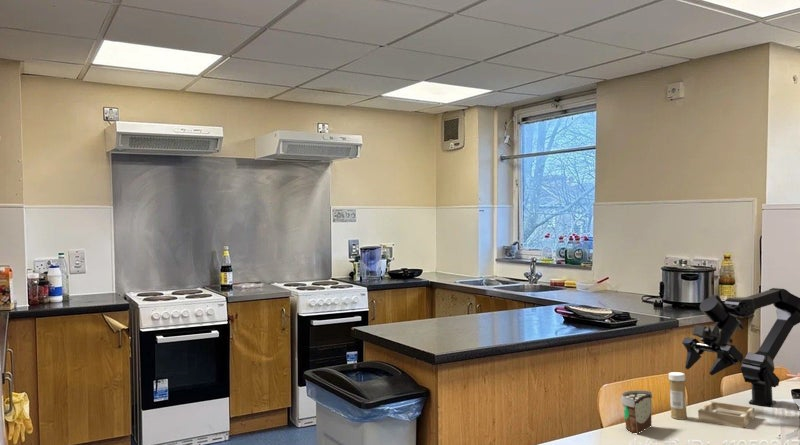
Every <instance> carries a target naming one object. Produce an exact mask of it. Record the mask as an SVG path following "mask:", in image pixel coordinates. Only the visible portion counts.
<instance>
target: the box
mask: <svg viewBox="0 0 800 445" xmlns="http://www.w3.org/2000/svg"><path fill="white" fill-rule="evenodd" d="M697 411H698V415H697V416H698V421H699V422H704V423H705V422H706V423H709V424H711V423H712V424H718V425H723V426H728V427H734V428H740V429H744V428H746V427H747V426H748V425H749V424H750V423H751V422H752V421H754V419H755V407H751V406H745V405H737V404H731V403H723V402H717V401H709V402H708V403H707V404H706V405H703V406H702V407H701V408H699V409H698V410H697Z"/></svg>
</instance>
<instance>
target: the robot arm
mask: <svg viewBox="0 0 800 445" xmlns="http://www.w3.org/2000/svg"><path fill="white" fill-rule="evenodd" d="M771 305H773V306H774V307H775V308H776V320H775V322H774V323H773V325H772V326H771V328H770V330H769V331H768V333H767V335H766V337H765V339H764V340H763V342H762V343H761V344H760V347H759V348H758V351H756V352H754V353H753V352H748V353H746V355H745V357H744V355H743V353H742V352H741V351H740V350H739V349H738V348H737V346H735V345H733V344H732V343H733V341H734V340H733V339H732V337H733V335H734V334H735V332H736V331H737V330H744V325H743V321H742V320H739V319H738V318H743V319H744V318H748V317H750V316H752V315H753V314H755V313H756V310H758V309H761V308H764V307H767V306H771ZM699 309H700V311H701V312H702V313H703V314H704V315H705V316H706V317H707V318H708V319H709V320H710V322H712V323H715V324H714V325H710V327H708V326H705V325H699V324H698V325H697V324H695V325H694V327H693V330H692V331H693V332H692V335H693V336H696V337H699V338H700V339H699V340H700V341H701V342H703V343H701V342H700V341H699V340H698V339H697V338H694V337H688V336H687V337H684V338H683V340H682V341H681V343H682V345H683V346H684V348H685V349H686V361H685V365H684V366H685V367H684V368H685V369H686V370H689V369H690V368H692V367H693V366H694V365H695V364H696V363H697V362H698V361H699V360H700V359H701V358H702V355H703V354H704V352H708V353H709V352H710V353H715V354H716V355H717V356H716V359H715V361H714V363H713V365H712V366H711V368H710V370H709V372H708V373H709V375H710V376H714V375H716V374H717V373H719V372H721V371H724V370H725V369H727V368H729V367H732V366H733V365H734V366H735V365H737V364H738V365H739V364H741V363H742V364H741V366H740V372H741V374H742V377H743V380H744V382H745V383H749V384H751V387H750V388H751V399H750V400H749V401H748V404H750V405H757V406H758V405H759V406H765V407H773V406H774V405H775V404H777V401H776V400H774V399H773V388H776V387H779V384H780V378H779V377H778V376H777V375H776V373H775V372H774V371H775V363H774V360H775V359H776V357H777V355H778V353H779V352H780V349H781V348H782V346H783V344H784V343H785V341H786V339H787V338H788V337H789V334H790V333H791V331H792V330H793V328H794V326H796V325H798V324H800V297H799V296H797V295H795V294H793V293H791V292H790V291H789V290H788V289H785V288H777V287H772V288H770V289H768V290H765V291H762V292H759V293H756V294H755V293H754V294H752V295H750V296H749V295H748V296H745V297H744V296H743V297H742V296H741V297H739V296H737V297H728V298H726V299H725V300H724V301H722V299H721V298H720V296H719V295H717V294H711V296H710V297H706V299H704V300H702V301H701V302H700V304H699Z"/></svg>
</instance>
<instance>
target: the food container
mask: <svg viewBox="0 0 800 445" xmlns="http://www.w3.org/2000/svg"><path fill="white" fill-rule="evenodd" d="M652 399H653V394H652V391H649V390H627V391H625V392H623V393H622V395H621V398H620V403H621V404H622V405H623V406H622V407H623V414H624V421H625V429H627V430H628V431H630V432H632V433H631V434H633V433H637V434H638V433H639V432H641V431H643V430H644V429H646V430H648V429H650V428H651V427H650V426H652V425H653V424H652ZM649 427H650V428H649ZM652 427H653V426H652ZM647 428H648V429H647ZM627 430H626V431H627ZM628 431H627V432H628ZM630 432H629V433H630ZM643 432H644V431H643ZM641 433H642V432H641ZM638 435H639V434H638Z"/></svg>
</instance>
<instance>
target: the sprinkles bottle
mask: <svg viewBox="0 0 800 445" xmlns="http://www.w3.org/2000/svg"><path fill="white" fill-rule="evenodd" d="M668 380H669V381H668V382H669V400H670V417H671V418H672V419H675V420H686V419H687V418H688V415H687V414H688V413H687V394H686V375H685V373H684V372H677V371H674V372H673V371H672V372H668Z"/></svg>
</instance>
